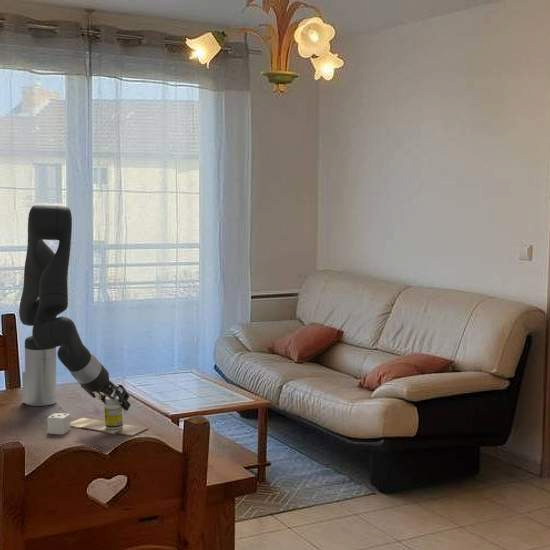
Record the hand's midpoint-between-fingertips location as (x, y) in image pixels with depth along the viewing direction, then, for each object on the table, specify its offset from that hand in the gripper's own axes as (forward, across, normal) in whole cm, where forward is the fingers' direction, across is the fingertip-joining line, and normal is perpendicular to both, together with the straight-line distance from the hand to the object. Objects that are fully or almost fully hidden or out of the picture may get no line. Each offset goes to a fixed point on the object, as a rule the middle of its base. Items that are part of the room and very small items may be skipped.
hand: (119, 406), depth 224 cm
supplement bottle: (+3, 0, +5) cm, 6 cm away
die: (-4, +10, +13) cm, 17 cm away
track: (+3, +3, +6) cm, 7 cm away
